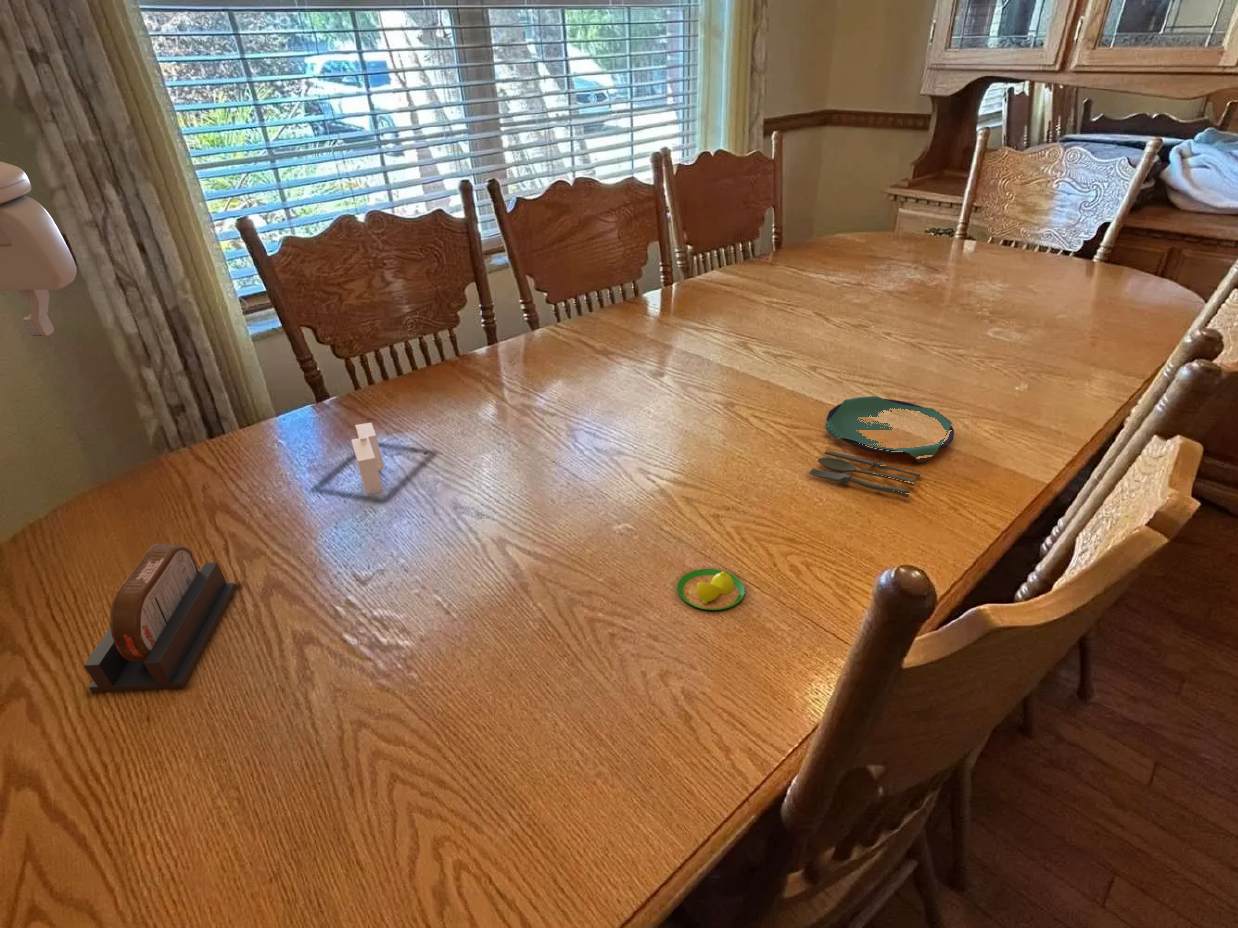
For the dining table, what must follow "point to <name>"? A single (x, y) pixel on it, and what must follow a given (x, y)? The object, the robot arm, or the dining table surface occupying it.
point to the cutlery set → (845, 426)
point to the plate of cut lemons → (713, 586)
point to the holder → (166, 641)
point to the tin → (150, 598)
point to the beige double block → (368, 457)
